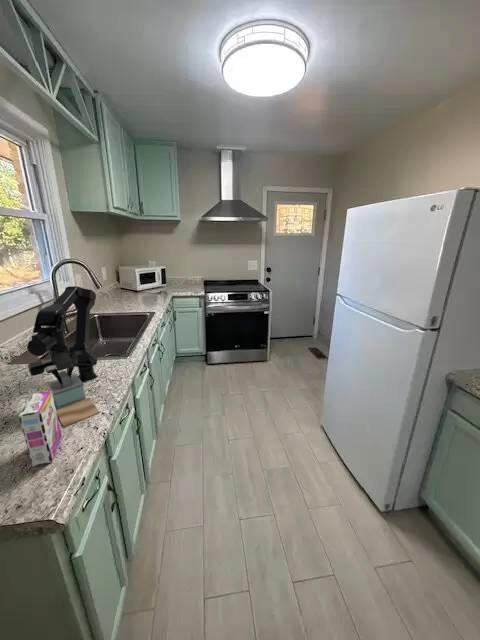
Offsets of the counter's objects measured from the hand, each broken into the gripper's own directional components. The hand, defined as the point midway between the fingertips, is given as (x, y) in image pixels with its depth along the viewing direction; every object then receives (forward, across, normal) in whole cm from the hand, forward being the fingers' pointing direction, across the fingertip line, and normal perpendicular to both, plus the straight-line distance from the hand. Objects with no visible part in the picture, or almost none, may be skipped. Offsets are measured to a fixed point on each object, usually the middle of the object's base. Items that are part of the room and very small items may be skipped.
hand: (65, 382), depth 101 cm
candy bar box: (+7, -11, -26) cm, 29 cm away
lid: (+2, 0, 0) cm, 2 cm away
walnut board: (+7, 0, -12) cm, 14 cm away
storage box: (+7, 0, 0) cm, 7 cm away
